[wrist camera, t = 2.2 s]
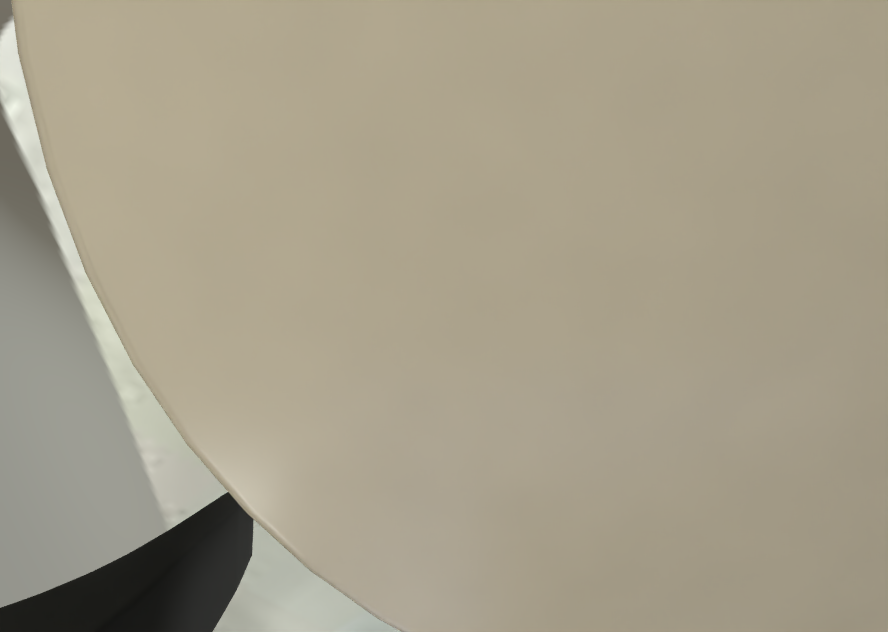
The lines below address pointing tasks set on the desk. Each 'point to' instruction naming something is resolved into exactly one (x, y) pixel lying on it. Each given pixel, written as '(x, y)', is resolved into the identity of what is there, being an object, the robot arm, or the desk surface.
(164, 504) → the desk surface
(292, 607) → the desk surface
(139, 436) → the desk surface
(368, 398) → the lamp
